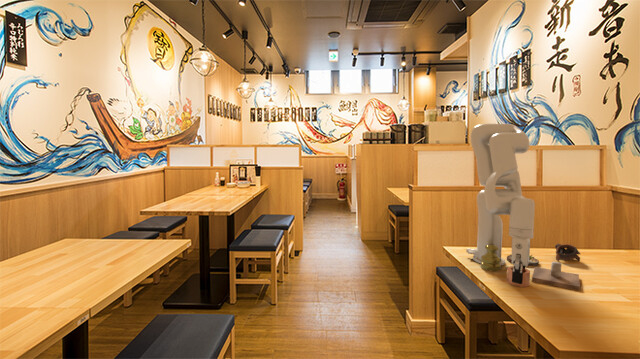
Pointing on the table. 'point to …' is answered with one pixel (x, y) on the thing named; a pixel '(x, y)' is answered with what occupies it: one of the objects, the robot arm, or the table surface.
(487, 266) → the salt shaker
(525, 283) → the ring
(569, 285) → the post stand
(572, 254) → the pottery mug
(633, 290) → the table surface
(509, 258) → the burger
